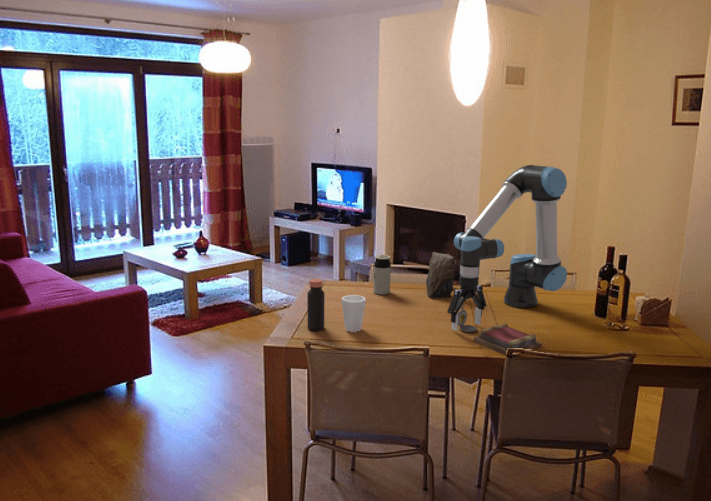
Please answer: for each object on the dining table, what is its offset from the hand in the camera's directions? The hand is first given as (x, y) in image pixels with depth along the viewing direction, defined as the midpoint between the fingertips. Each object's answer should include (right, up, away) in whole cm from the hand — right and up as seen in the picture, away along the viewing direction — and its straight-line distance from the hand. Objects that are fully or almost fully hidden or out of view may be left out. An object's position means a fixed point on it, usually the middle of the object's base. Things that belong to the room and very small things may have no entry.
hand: (466, 326), depth 241 cm
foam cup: (-46, -1, -2) cm, 46 cm away
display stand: (+13, -5, -15) cm, 20 cm away
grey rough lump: (-6, +9, +45) cm, 46 cm away
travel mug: (-32, +10, +47) cm, 58 cm away
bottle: (-61, -1, -2) cm, 61 cm away
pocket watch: (0, -1, 0) cm, 1 cm away
